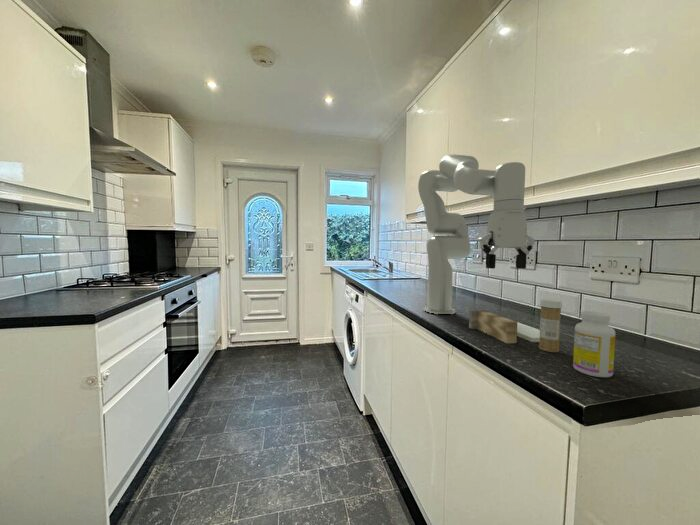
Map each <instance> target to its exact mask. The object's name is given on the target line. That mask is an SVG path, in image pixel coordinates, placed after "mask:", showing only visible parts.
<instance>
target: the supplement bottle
mask: <svg viewBox="0 0 700 525" xmlns="http://www.w3.org/2000/svg"><path fill="white" fill-rule="evenodd" d="M580 314H581V315H580V317H581V322H578V323H576V325H575V326H574V340H573V358H572V359H573V361H572V362H573V363H572V366H573V368H574V369H575V370H576V371H578V372H580V373H582V374H584V375H587V376H591V377H597V378H611V377H612V376H613V375H614V369H615V368H614V365H615V351H616V350H615V349H616V348H615V345H616V330H615V329H614V328H613V327H612V326H609V323H610V321H611V315H610V314H608V313H603V312H597V311H589V310H588V311H586V310H585V311H584V310H583V311H581V312H580Z"/></svg>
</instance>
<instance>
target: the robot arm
mask: <svg viewBox="0 0 700 525" xmlns="http://www.w3.org/2000/svg"><path fill="white" fill-rule="evenodd" d="M479 166H480V165H479V160H477V158H476V157H474V156H473V155H472V156H471V155H463V154H448V155H445V156H444V157H443V158H442V159H441V160H440V161H439V165H438V168H439V169H438V170H437V169H436V170H435V169H430V170H426V171H424V172H421V174H420V176H419V177H418V178H419V180H418V184H417V185H418V186H417V187H418V188H417V190H418V193H419V195H418V196H419V197H420V200H421V203H422V205H423V209H424V217H425V221H426V228H427V231H428V232H429V234H431V235H435V236H432V237H430V238H429V239H428V240H427V243H426V251H427V252H426V253H427V260H428V272H427V274H428V278H427V283H428V284H427V299H426V303H427V306H424V307H423V312H425V311H426V312H425V313H427V312H429V313H428V314H431V313H434V314H433V315H438V314H451V315H454V314H455V313H456V309H455V308H452V300H453V297H452V296H453V268H452V264H451V263H450V262H449V260H461V259H462V260H463V259H466V258H467V257H469V255H470V253H471V242H470V237H469V231H468V226H467V222H466V220H465V217H464V216H463V215H462V214H460V213H457V212H448V211H447V210H446V206H445V202H444V200H443V198H442V197H441V196H440V195H439V194H438V193H437V192H447V193H448V192H449V193H453V192H457V191H460V192H462V193H464V194H468V195H475V196H487V197H489V196H490V197H493V212H491V213H490V215H489V219H488V223H487V226H486V227H487V228H486V234H484V235H482V236H481V237H479V238H478V244H479V246H480V249H481V250H482V251H483V254H485V268H486V269H491V270H492V269H495V268H496V258H497V256H496V254H495V252H496V251H497V250H498V249H515V251H516V252H517V254H516V256H515V268H516V269H523V270H525V269H526V268H527V256H528V255H529V254H530V252H531V250H533V246H534V244H535V242H536V240H535V239H534V238H533V237H531V236H529V235H528V226H527V225H528V224H527V217H526V213H525V212H524V211H525V210H526V209H527V206H526V204H525V185H526V184H525V183H526V166H525V164H524V163H522V162H519V161H515V162H514V161H513V162H505V163H502V164H500V165H498V166H496V168H495V170H493V169H479Z"/></svg>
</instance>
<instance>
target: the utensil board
mask: <svg viewBox="0 0 700 525" xmlns="http://www.w3.org/2000/svg"><path fill="white" fill-rule="evenodd" d="M516 322H517V338H518V337H519V338H521V339H524V340H526V341H529V342H530V343H539V341H540V336H539V335H540V329H538V328H535V327H533V326H529V325H527V324H523V323H521V322H518V321H516Z"/></svg>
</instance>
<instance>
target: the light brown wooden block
mask: <svg viewBox="0 0 700 525" xmlns="http://www.w3.org/2000/svg"><path fill="white" fill-rule="evenodd" d="M468 316H469V319H468V320H469V321H468V329H470V328H471V329H470V330H478V329H479V330H478V331H480V330H481V331H480V332H482V331H483V332H482V333H484V334H486V333H487V335H488V336H490V335H491V337H492V336H493V337H492V338H494V337H495V339H496V340H499V341H501V342H503V343H505V344H517V338H518V336H517V322H518V321H515V320H513V319H510V318H507V317H504V316H501V315H498V314H496V313H492V310H490V309H480V310H479V309H478V310H477V309H476V310H475V309H474V310H469V315H468Z"/></svg>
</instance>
